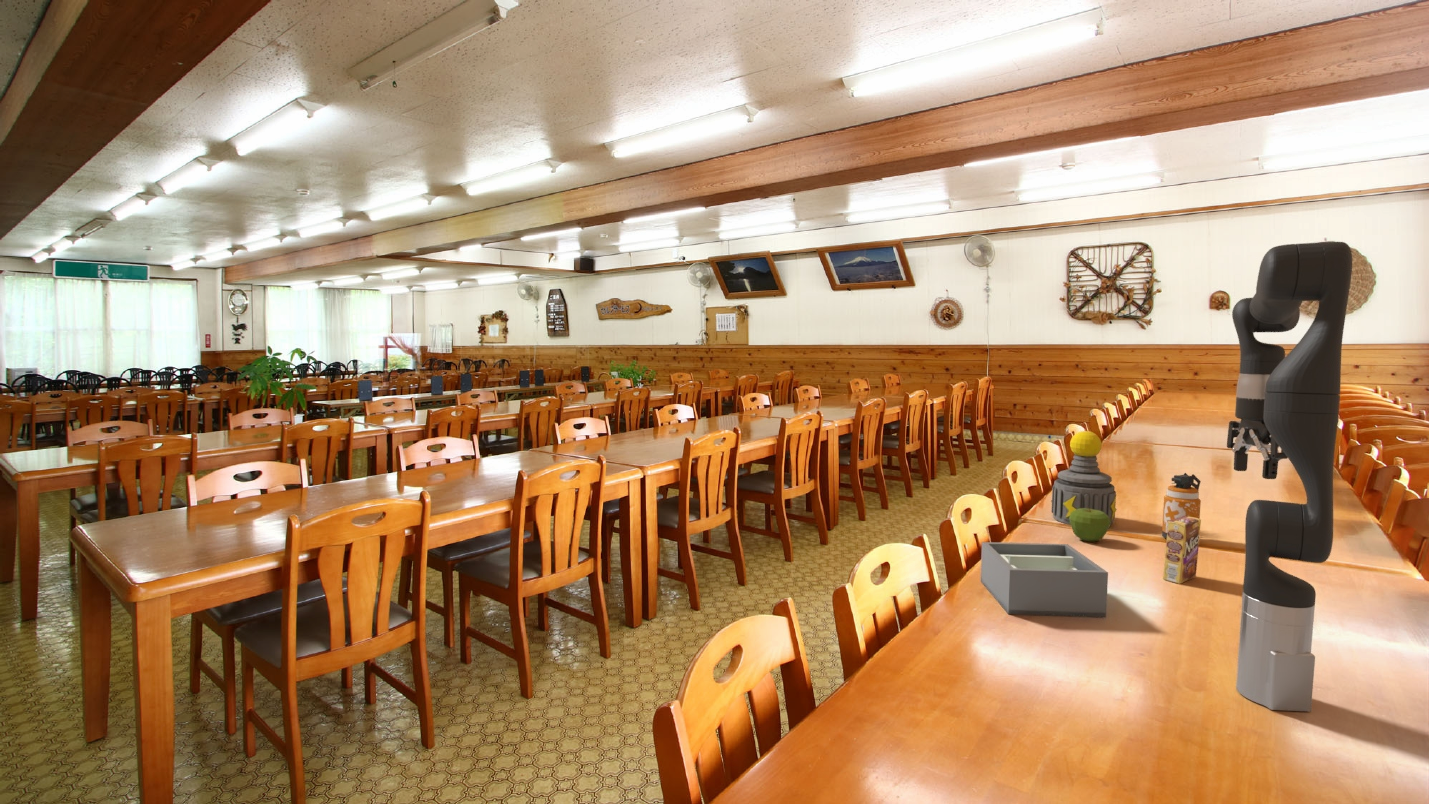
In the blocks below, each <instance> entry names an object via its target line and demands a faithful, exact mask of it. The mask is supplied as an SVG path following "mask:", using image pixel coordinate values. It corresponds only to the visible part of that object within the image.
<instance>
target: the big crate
mask: <svg viewBox="0 0 1429 804" xmlns="http://www.w3.org/2000/svg"><path fill="white" fill-rule="evenodd" d="M1000 554H1001V555H1041V556H1072V557H1073V567H1075V568H1076V569H1077V570H1062V569H1024V568H1013V567H1012V566H1011V565H1010V564H1009V563H1008V562H1007V561H1006V560H1005V559H1004V558H1003V557H1002V556H1001V555H1000ZM980 557H981V558H980V559H981V561H980V583H981V584H982V585H983V586H984V587H985V589H986V590H987V591H988V592H989V593H990V594H991V596H992V597H993V598H994V599H995V600H996V601H997V602H998V604H999V605H1000V607H1002V608H1003V610H1004V611H1005V612H1006V613H1007V615H1016V616H1017V615H1020V616H1045V617H1046V616H1048V617H1049V616H1052V617H1054V616H1055V617H1076V618H1077V617H1079V618H1080V617H1081V618H1082V617H1083V618H1106V617H1107V604H1108V603H1107V601H1108V599H1107V598H1108V582H1109V581H1108V580H1109V572H1108V571H1107V570H1105V569H1104V568H1102V567H1101V566H1100V565H1098V564H1097V563H1095V562H1094V561H1093V560H1091V559H1090V558H1088V557H1087V556H1086V555H1084V554H1082V553H1081V552H1080V551H1079V550H1077V549H1076V548H1074V547H1073V546H1071V545H1070V544H1069V543H1043V542H1042V543H1037V542H1036V543H1035V542H993V541H991V542H989V541H984V542H983V541H982V542H981V556H980Z"/></svg>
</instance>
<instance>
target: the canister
mask: <svg viewBox="0 0 1429 804" xmlns="http://www.w3.org/2000/svg"><path fill="white" fill-rule="evenodd" d="M1201 481H1202V480H1201V479H1200V478H1198V477H1197V476H1196V475H1195V474H1191V475H1188V473H1186V472H1184V473H1183V474H1179V475H1178V474H1175V475H1174V476H1173V477H1171V482H1172V483H1171V485H1169V486H1168V487H1167V488H1166V495H1163V509H1162V511H1163V512H1162V529H1161V530H1162V532H1161V537H1163V538H1164V539H1166V540H1167V530H1168V521H1169V520H1173V519H1176V518H1180V517H1182V516H1188V517H1194V518H1198V519H1201V517H1200V516H1201V505H1202V504H1201V503H1202V501H1201V499H1200V498H1199V497H1200V496H1199V495H1200V492H1199V491H1200V490H1199V489H1200V485H1201ZM1196 483H1197V484H1196ZM1174 484H1175V485H1174Z"/></svg>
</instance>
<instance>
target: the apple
mask: <svg viewBox="0 0 1429 804" xmlns="http://www.w3.org/2000/svg"><path fill="white" fill-rule="evenodd" d="M1069 519H1070V524H1071V525H1070V527H1071V529H1072V532H1073V534H1074V535H1075V536H1076V537H1077V538H1078V539H1080V540H1081V541H1083V542H1084V541H1085V542H1092V543H1093V542H1096V541H1097V542H1098V541H1100V540H1102V539H1103V538H1104V537H1105V535H1106V534H1107V532H1108V531H1109V528H1110V526H1111V525H1110V523H1111V521H1110V518H1109V516H1108V515H1107V514H1105V513H1104V512H1102V511H1099V510H1094V509H1090V508H1089V509H1087V508H1080V509H1076V510H1074V511H1073V512H1071V514H1070V516H1069Z"/></svg>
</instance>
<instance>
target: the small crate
mask: <svg viewBox="0 0 1429 804" xmlns="http://www.w3.org/2000/svg"><path fill="white" fill-rule="evenodd" d="M1000 555H1001V554H1000ZM1001 556H1002V557H1003V558H1004V559H1005V560H1006V561H1007V562H1008V563H1009V564H1010V565H1011V566H1012V567H1013V568H1024V569H1062V570H1077V569H1076V568H1075V567H1073V557H1072V556H1041V555H1001Z"/></svg>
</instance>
